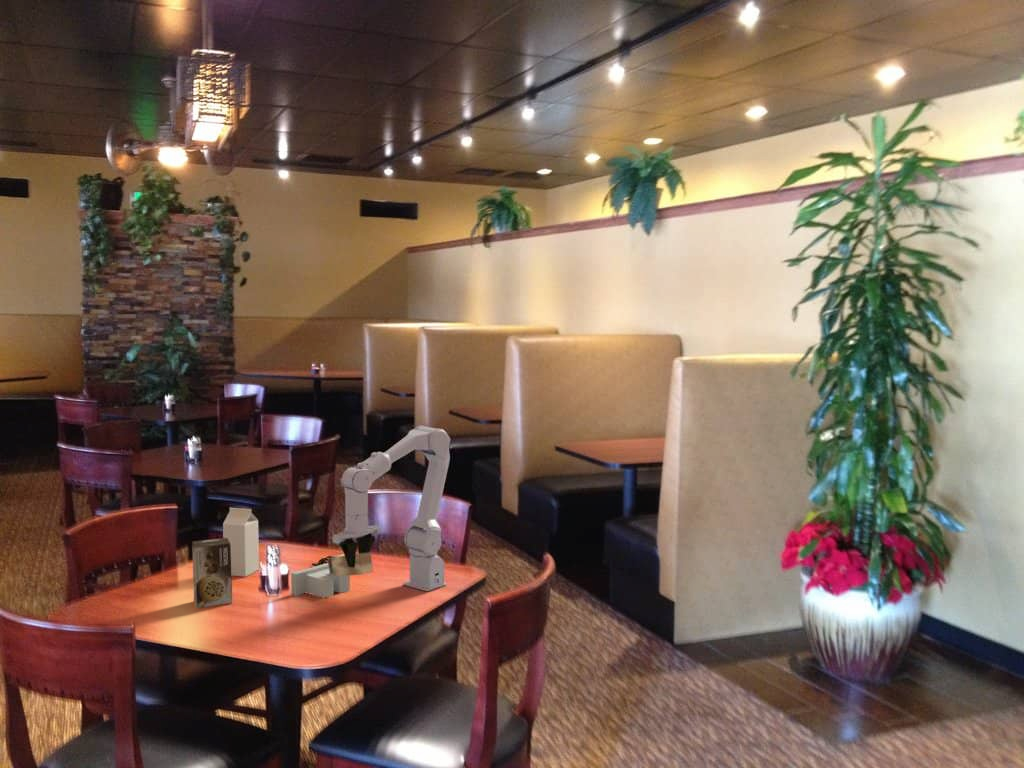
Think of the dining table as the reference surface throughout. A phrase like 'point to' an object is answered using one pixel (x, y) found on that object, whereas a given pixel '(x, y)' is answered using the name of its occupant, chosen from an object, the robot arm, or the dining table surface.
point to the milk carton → (242, 541)
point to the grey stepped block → (319, 582)
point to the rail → (340, 567)
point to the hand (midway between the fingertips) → (357, 565)
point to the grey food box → (212, 572)
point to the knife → (322, 561)
